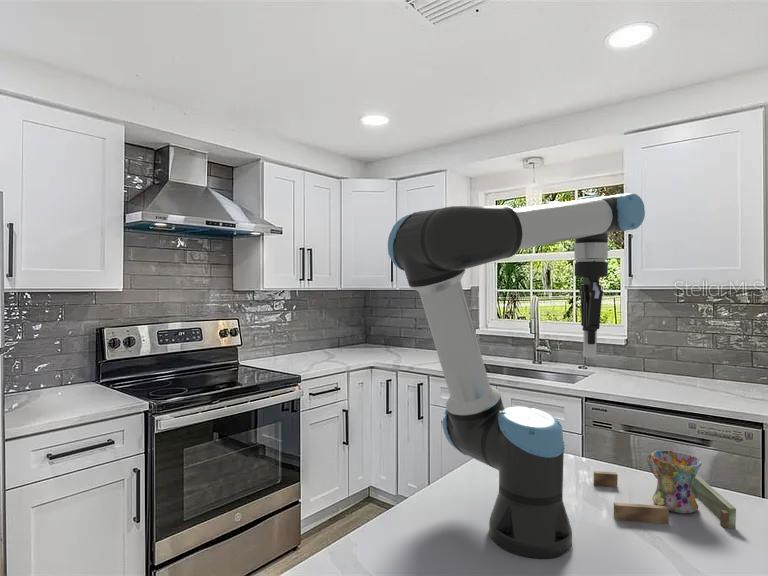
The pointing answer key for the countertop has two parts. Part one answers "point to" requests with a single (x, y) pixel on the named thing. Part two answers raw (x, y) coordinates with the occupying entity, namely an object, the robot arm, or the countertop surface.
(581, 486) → the countertop surface
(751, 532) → the countertop surface
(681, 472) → the mug
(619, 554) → the countertop surface
